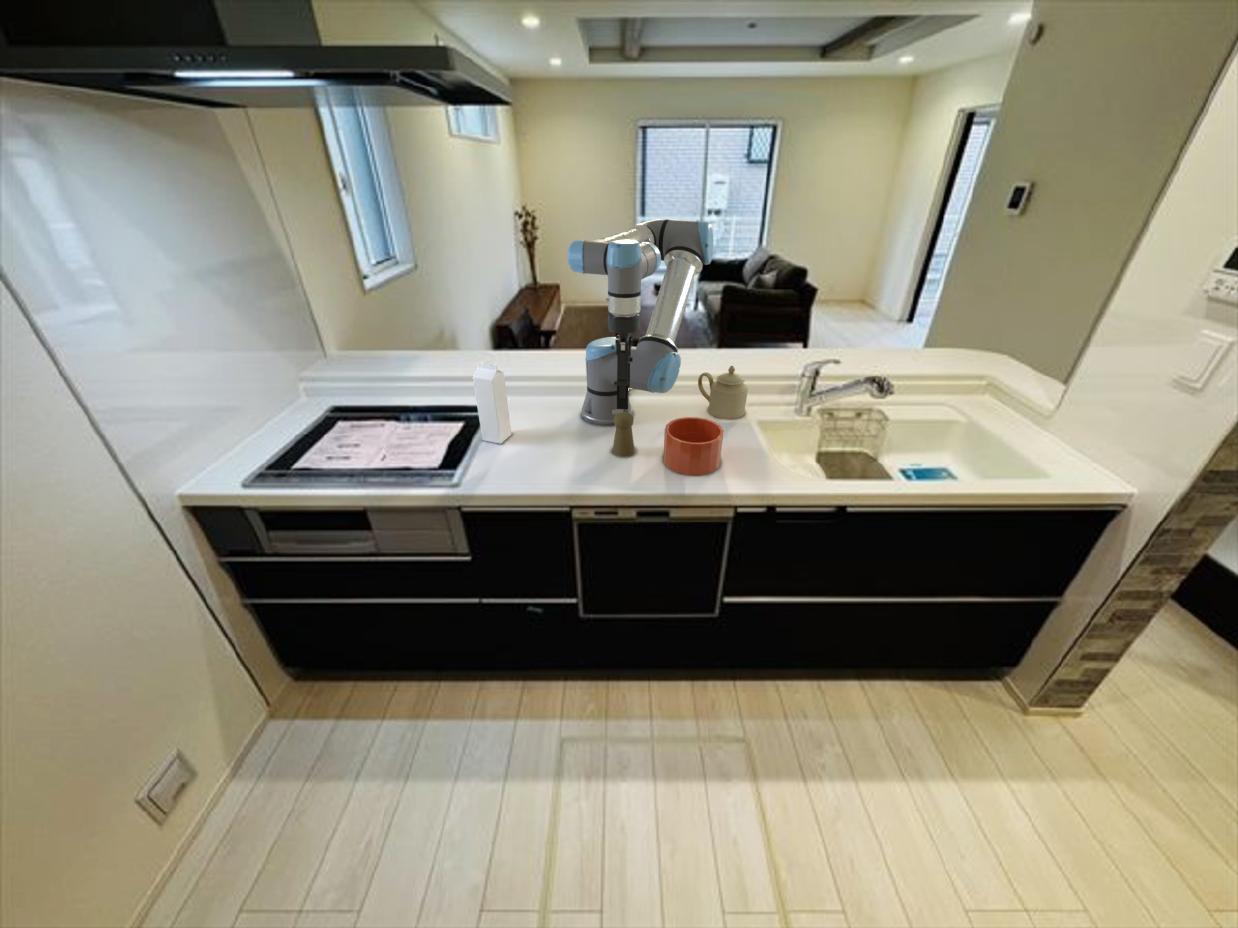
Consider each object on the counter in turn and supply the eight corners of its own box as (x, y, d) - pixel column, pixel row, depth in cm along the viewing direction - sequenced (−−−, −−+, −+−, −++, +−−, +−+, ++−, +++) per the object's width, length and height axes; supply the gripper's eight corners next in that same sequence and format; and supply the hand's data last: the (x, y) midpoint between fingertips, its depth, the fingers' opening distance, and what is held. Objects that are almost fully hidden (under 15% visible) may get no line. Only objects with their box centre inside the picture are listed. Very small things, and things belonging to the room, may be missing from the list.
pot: (662, 445, 142) (664, 416, 137) (716, 447, 141) (720, 417, 136) (664, 474, 129) (665, 443, 125) (723, 476, 129) (727, 444, 124)
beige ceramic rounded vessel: (695, 417, 157) (699, 370, 149) (696, 402, 166) (699, 357, 158) (745, 420, 155) (752, 373, 147) (743, 405, 164) (749, 359, 156)
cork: (632, 457, 136) (633, 420, 131) (610, 455, 137) (609, 418, 132) (636, 446, 141) (637, 410, 136) (614, 444, 142) (614, 408, 137)
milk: (493, 431, 149) (483, 357, 138) (512, 434, 148) (502, 360, 136) (482, 440, 144) (470, 365, 133) (501, 444, 143) (490, 368, 131)
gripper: (611, 299, 131) (611, 378, 142) (604, 328, 109) (605, 418, 120) (640, 299, 130) (639, 378, 141) (639, 329, 109) (637, 419, 120)
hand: (623, 397), depth 131 cm, fingers open, 13 cm apart
